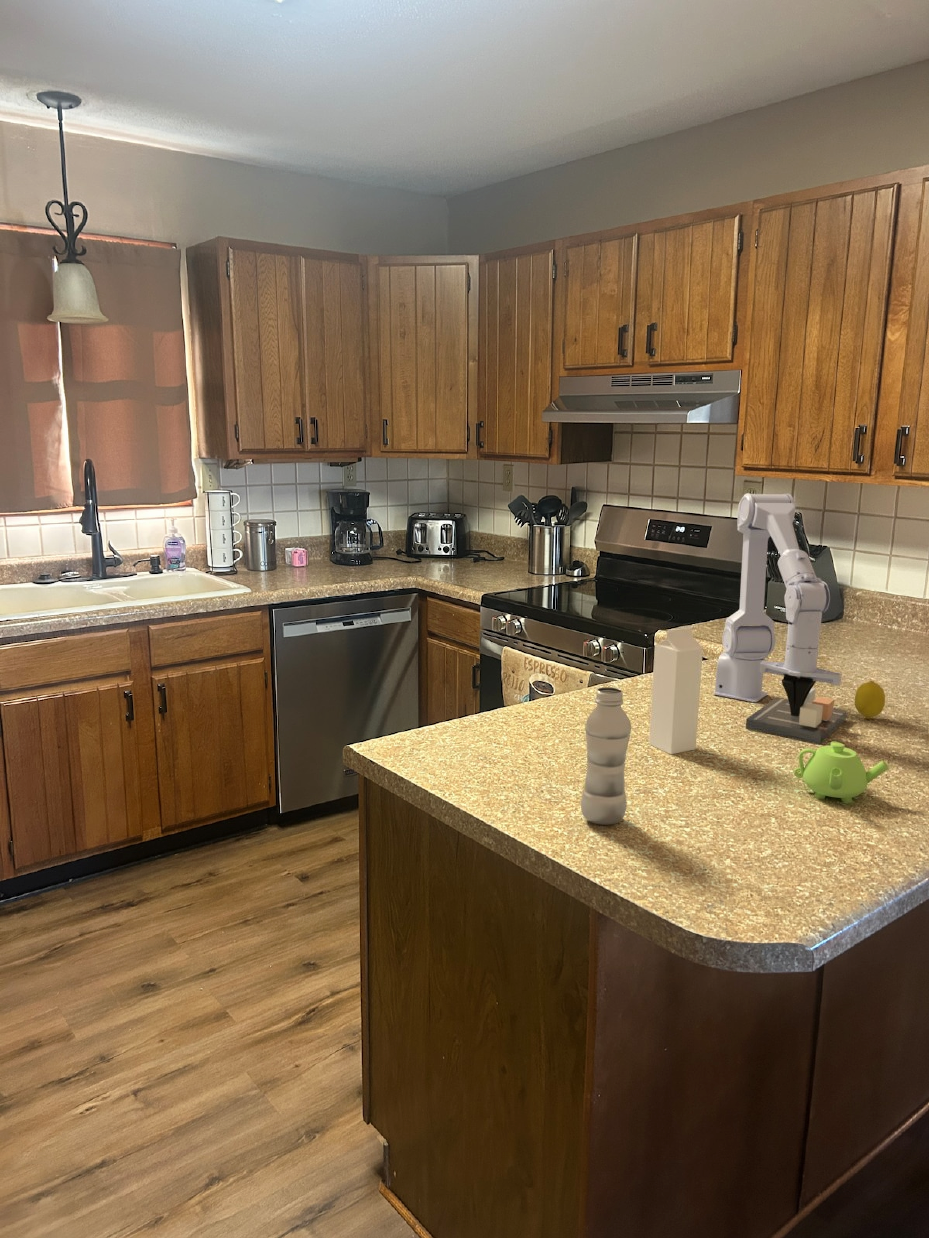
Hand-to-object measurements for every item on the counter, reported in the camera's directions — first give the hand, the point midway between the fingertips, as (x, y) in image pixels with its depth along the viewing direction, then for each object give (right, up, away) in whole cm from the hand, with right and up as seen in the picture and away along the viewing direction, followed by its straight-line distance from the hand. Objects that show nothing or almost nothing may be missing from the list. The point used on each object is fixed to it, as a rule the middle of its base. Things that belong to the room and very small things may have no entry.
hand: (795, 714), depth 172 cm
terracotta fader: (+6, -1, +3) cm, 7 cm away
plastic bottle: (-43, -12, -39) cm, 59 cm away
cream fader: (+2, -1, -1) cm, 3 cm away
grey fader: (+5, +1, +10) cm, 11 cm away
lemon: (+18, -2, +10) cm, 21 cm away
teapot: (-4, -10, -28) cm, 30 cm away
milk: (-25, -5, -8) cm, 27 cm away
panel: (+2, -3, +6) cm, 7 cm away
